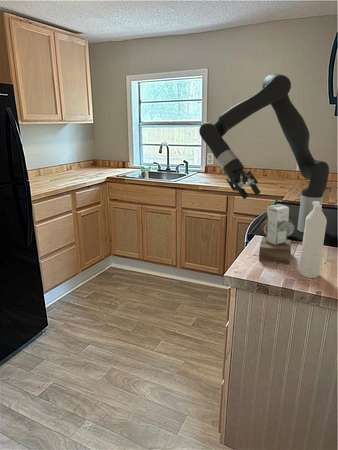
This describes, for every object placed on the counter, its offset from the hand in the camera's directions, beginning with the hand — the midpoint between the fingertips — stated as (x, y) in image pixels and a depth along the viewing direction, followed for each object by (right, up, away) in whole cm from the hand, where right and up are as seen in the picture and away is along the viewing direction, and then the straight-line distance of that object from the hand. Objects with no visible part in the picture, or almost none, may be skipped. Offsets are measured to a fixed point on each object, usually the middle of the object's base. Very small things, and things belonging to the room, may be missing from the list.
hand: (252, 195), depth 127 cm
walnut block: (+9, -24, 0) cm, 26 cm away
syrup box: (+9, -18, 0) cm, 21 cm away
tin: (+17, -17, +21) cm, 32 cm away
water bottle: (+16, -29, -13) cm, 35 cm away
